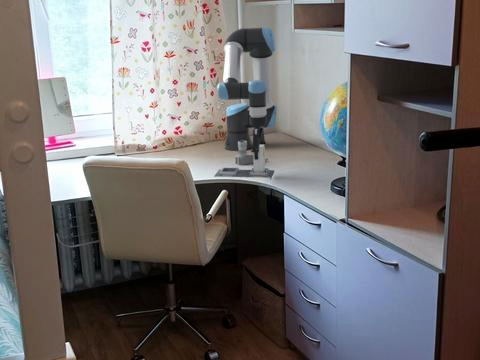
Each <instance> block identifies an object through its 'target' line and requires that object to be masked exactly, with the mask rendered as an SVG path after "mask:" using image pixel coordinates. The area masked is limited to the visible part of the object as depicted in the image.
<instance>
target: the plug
mask: <svg viewBox="0 0 480 360" xmlns="http://www.w3.org/2000/svg"><path fill="white" fill-rule="evenodd" d="M265 145H266V144H263V145H259V152H260V166H254V165H253V168H254V172H265V168H266V161H265V158H266V147H265ZM252 164H254V160H253V163H252Z"/></svg>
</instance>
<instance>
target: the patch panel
mask: <svg viewBox="0 0 480 360" xmlns="http://www.w3.org/2000/svg"><path fill="white" fill-rule="evenodd" d="M274 174H275V170H274V169H270V168H269V167H268V168H267V167H265V172H254V167H252V168H251V169H240V168H239V167H222V168H220V169H218V170H217V172H216V173H215V175H214V176H213V177H215V178H218V177H219V178H220V177H222V178H223V177H225V178H263V179H265V178H266V179H267V178H269V180H272V178H273V176H274Z"/></svg>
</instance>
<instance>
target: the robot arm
mask: <svg viewBox="0 0 480 360" xmlns="http://www.w3.org/2000/svg"><path fill="white" fill-rule="evenodd" d="M274 52H276V44H275V36H274V31H273V30H272V28H270V27H254V28H253V27H250V28H249V27H248V28H238V29H236V30H235V31H233V32H232V33H230V34H229V35H228V37H227V38H226V39H225V41H224V44H223V54H224V65H223V76H222V82H220V83H218V84H217V98H218V99H219V100H225V101H231V100H232V101H234V100H248V103H249V104H248V103H246V102H241V103H236V104H231V105H228V106H227V107H226V115H225V117H226V137H225V140H224V145H223V146H224V149H225V150H228V151H239V147H238V141H247V147H246V151H247V150H249V149H251V151H250V152H251V153H252V155H253V160H254V163H253V167H254V166H260V152H259V145H266V144H267V142H266V139H265V130H264V129H268V128H269V129H270V128H274V127H275V125H276V120H277V110H278V109H277V107H278V106H277V105H275V103H274V101H273V100H272V95H271V94H272V93H271V91H272V90H271V60H270V58H271V57H272V56H273V55H274V54H273V53H274ZM243 53H249V54H248V55H249V57H250V58H251V59H252V73H253V79H252V80H250V81H249V82H240V76H241V75H240V73H241V58H242V57H241V56H242V55H243ZM249 129H253V130H252V138H251V135H250V132H249V131H250V130H249Z"/></svg>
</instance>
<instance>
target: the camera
mask: <svg viewBox="0 0 480 360" xmlns="http://www.w3.org/2000/svg"><path fill="white" fill-rule="evenodd" d="M238 147H239V150H238V154H235V155H234V161H235V164H236V165H238V166H244V165H245V166H246V165H252V164H254V163H253V153H249V152H248V153H247V150H246V147H247V141H238ZM268 160H269V158H267V157H265V162H266V161H268Z"/></svg>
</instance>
